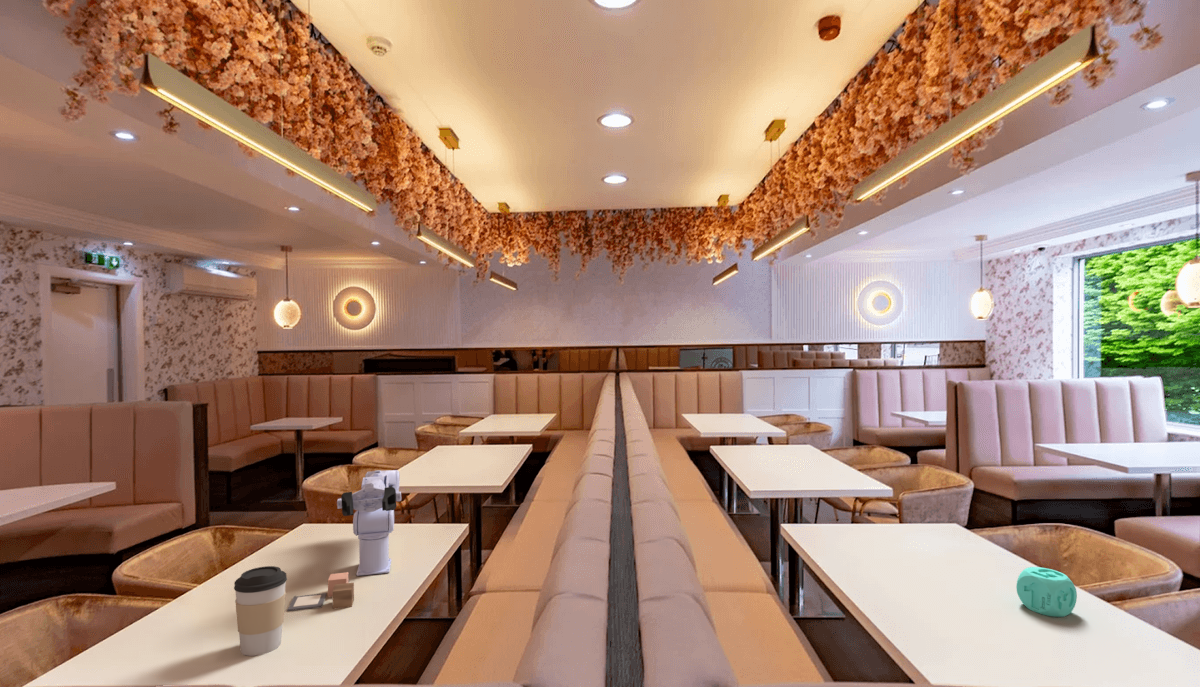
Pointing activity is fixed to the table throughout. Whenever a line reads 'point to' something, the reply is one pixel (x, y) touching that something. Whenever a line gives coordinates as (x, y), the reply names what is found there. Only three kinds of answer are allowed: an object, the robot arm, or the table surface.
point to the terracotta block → (336, 581)
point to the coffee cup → (260, 609)
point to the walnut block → (343, 595)
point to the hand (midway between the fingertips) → (366, 508)
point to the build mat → (307, 602)
